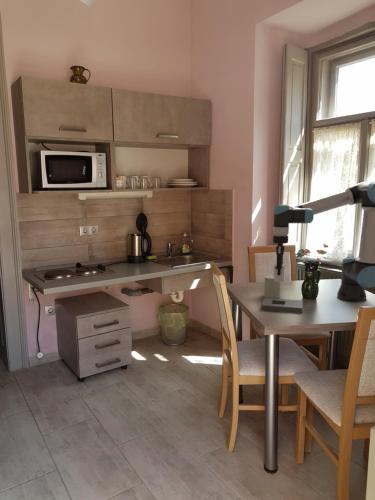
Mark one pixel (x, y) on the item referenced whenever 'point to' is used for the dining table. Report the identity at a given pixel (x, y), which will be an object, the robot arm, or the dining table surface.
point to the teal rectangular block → (282, 273)
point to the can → (271, 287)
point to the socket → (282, 305)
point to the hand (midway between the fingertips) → (279, 280)
